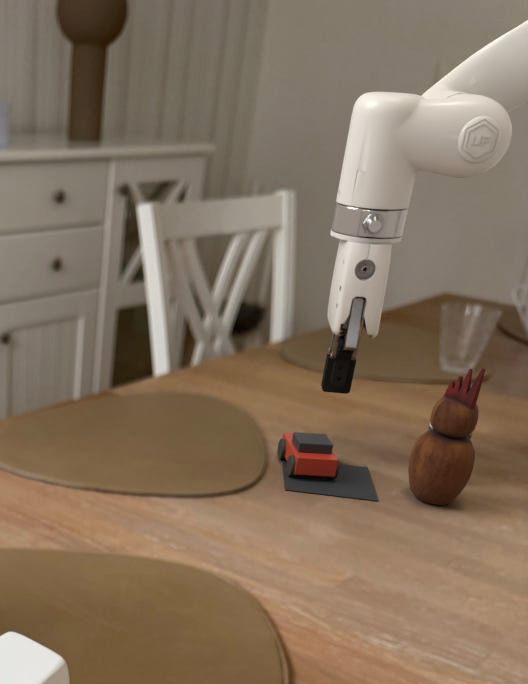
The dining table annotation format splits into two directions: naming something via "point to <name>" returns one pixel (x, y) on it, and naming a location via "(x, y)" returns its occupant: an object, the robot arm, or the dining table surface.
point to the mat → (334, 483)
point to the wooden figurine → (446, 444)
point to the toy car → (308, 455)
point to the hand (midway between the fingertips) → (334, 390)
